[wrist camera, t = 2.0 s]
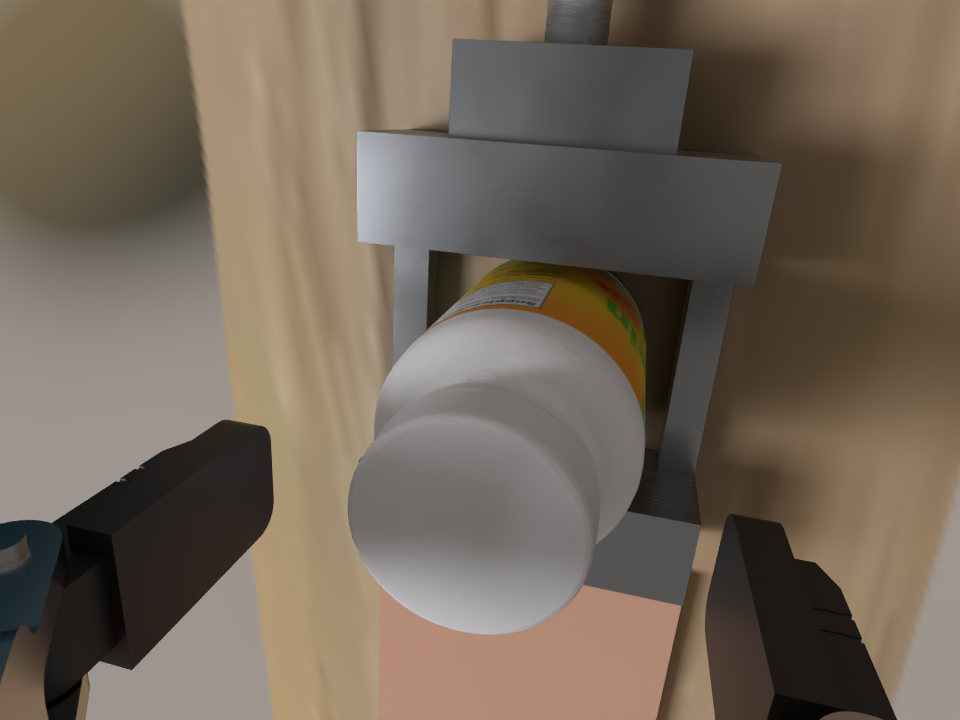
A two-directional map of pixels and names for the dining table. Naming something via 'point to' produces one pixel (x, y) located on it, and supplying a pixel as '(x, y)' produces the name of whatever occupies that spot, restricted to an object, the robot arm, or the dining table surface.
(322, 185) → the dining table surface
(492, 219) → the bench vise
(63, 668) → the robot arm
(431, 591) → the supplement bottle
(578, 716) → the terracotta tile
